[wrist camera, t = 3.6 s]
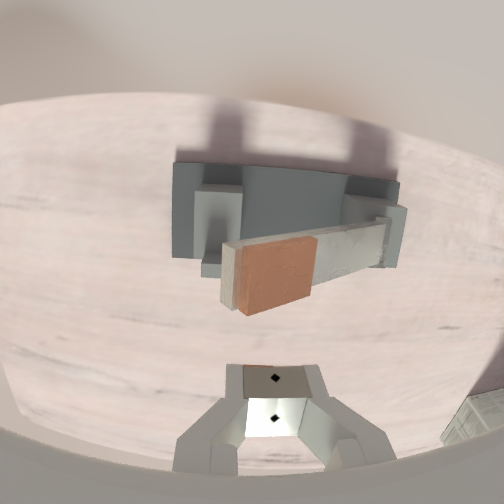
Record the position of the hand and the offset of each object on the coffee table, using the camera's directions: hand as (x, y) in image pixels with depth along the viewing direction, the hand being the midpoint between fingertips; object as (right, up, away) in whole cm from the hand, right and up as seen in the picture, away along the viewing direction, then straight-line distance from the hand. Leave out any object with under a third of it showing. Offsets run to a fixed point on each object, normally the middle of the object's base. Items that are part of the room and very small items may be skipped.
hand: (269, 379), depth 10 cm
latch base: (+3, +8, +24) cm, 25 cm away
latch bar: (+4, +4, +13) cm, 14 cm away
